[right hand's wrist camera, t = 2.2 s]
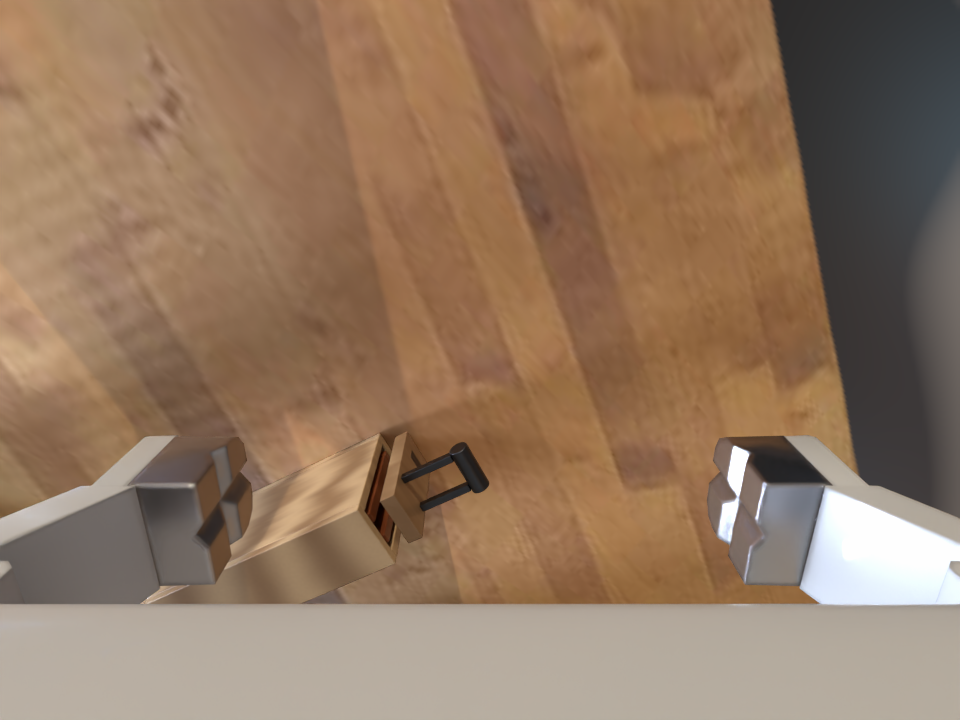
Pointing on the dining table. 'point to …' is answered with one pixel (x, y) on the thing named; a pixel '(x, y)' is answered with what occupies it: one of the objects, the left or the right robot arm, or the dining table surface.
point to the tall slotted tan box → (302, 537)
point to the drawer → (415, 486)
